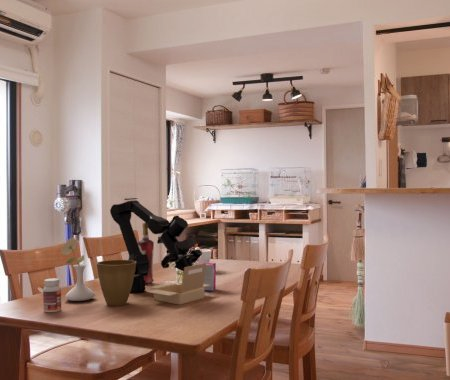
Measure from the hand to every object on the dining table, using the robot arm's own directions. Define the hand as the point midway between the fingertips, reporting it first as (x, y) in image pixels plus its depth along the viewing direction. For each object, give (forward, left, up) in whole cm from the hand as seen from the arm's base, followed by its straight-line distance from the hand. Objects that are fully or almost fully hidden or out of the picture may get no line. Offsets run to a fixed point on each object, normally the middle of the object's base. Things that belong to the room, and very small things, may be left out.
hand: (193, 275), depth 198 cm
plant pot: (-29, +4, -10) cm, 31 cm away
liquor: (-16, +42, -10) cm, 46 cm away
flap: (-1, +1, -6) cm, 6 cm away
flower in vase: (-44, +14, -10) cm, 47 cm away
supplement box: (+9, +20, -10) cm, 24 cm away
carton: (-6, +8, -10) cm, 14 cm away
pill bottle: (-52, -1, -10) cm, 53 cm away
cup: (+13, +67, -10) cm, 69 cm away
